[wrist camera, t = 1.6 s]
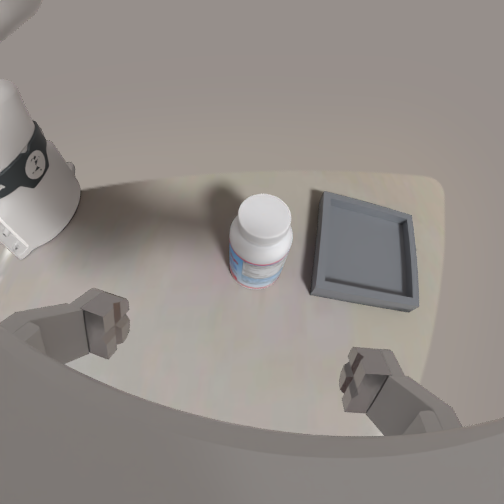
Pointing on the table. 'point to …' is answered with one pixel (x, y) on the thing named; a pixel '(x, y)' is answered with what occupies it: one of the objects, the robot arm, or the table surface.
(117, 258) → the table surface
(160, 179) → the table surface
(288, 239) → the pill bottle
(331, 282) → the tray
